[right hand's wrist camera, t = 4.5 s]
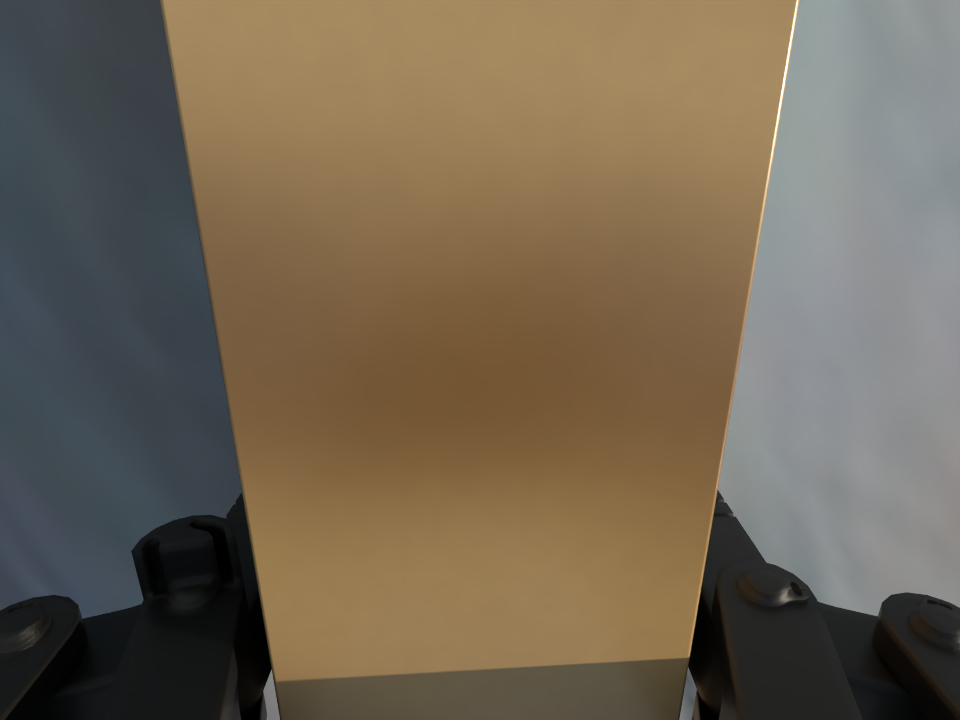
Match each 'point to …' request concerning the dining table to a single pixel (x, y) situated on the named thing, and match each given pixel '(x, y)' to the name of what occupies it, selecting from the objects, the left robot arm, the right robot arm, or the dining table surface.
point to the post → (479, 332)
